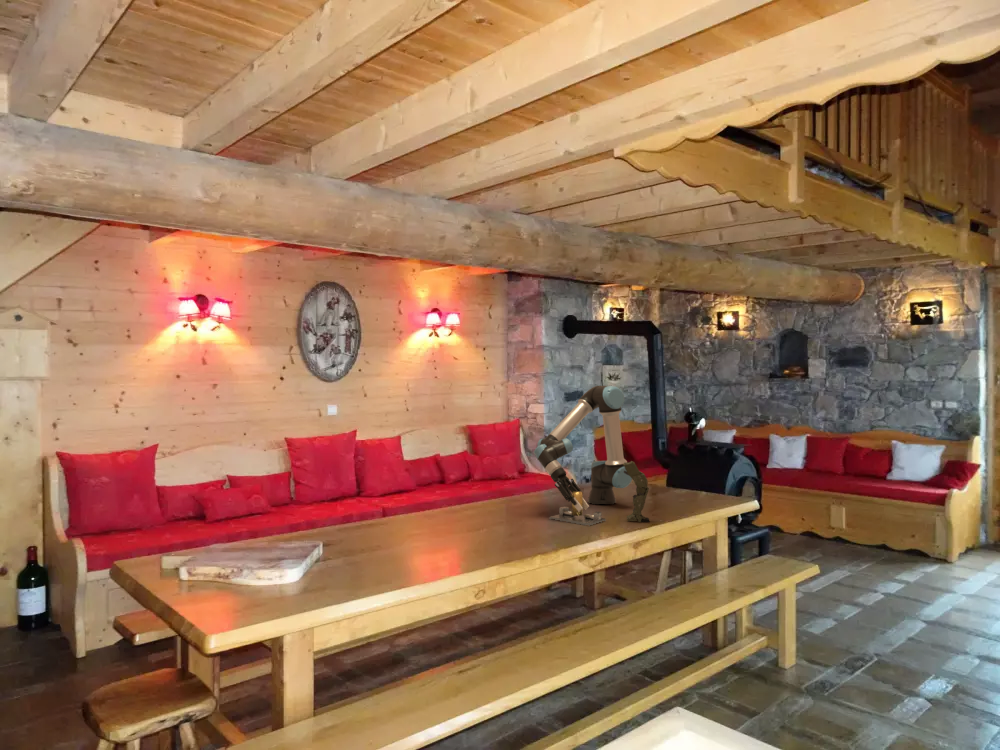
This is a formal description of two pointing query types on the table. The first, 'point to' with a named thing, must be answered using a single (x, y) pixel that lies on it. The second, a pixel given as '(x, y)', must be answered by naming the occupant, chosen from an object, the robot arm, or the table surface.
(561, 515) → the bed plate
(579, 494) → the orange glossy cylinder
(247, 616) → the table surface
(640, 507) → the mechanical leg
